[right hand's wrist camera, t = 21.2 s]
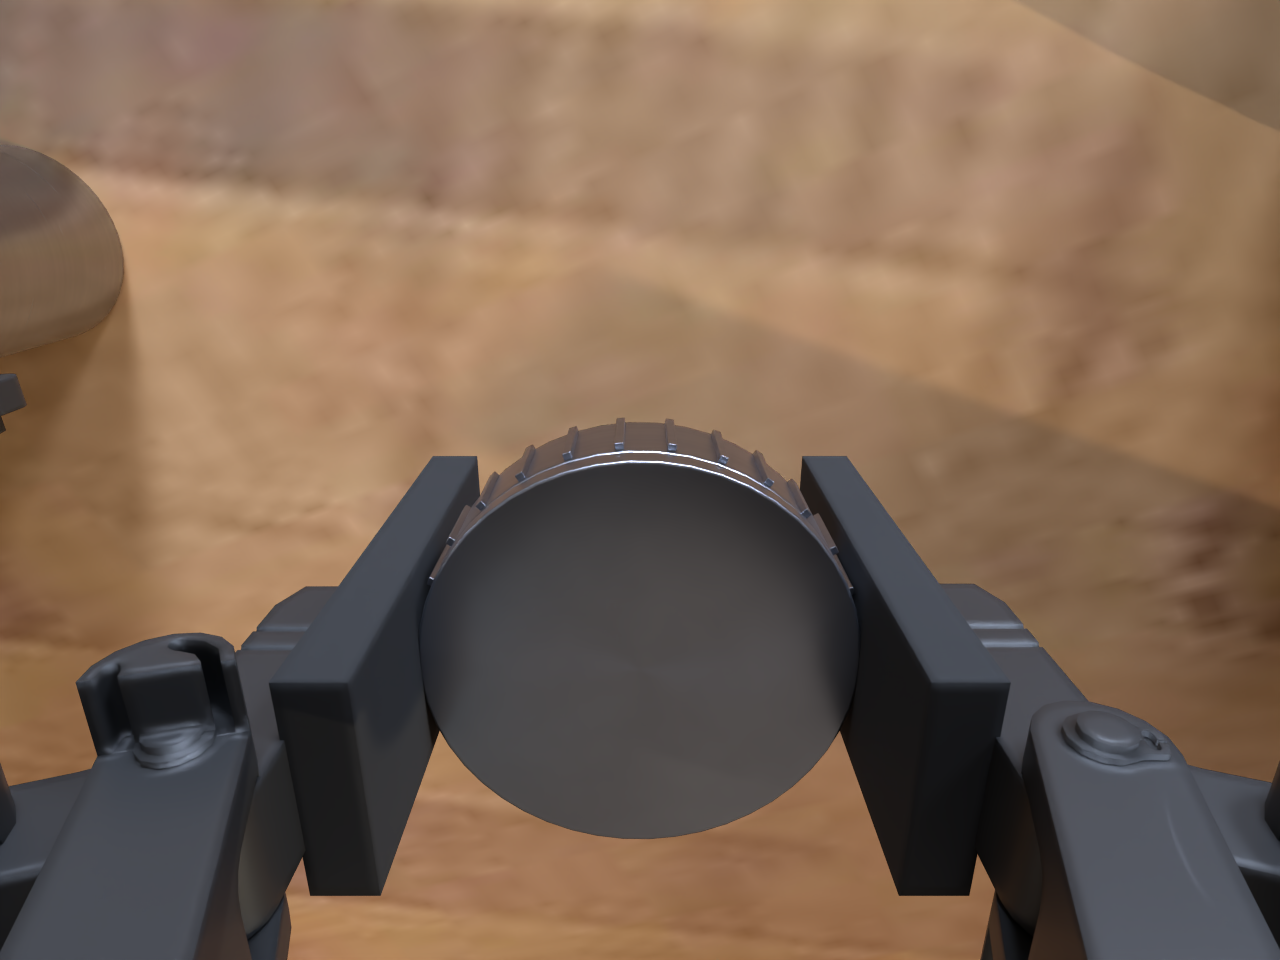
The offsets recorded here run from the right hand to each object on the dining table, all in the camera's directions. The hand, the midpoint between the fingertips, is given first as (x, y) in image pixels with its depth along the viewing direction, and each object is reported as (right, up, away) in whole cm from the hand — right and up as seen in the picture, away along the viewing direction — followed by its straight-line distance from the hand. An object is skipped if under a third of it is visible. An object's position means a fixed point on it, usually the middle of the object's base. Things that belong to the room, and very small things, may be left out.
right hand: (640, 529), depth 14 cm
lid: (0, -1, -4) cm, 4 cm away
